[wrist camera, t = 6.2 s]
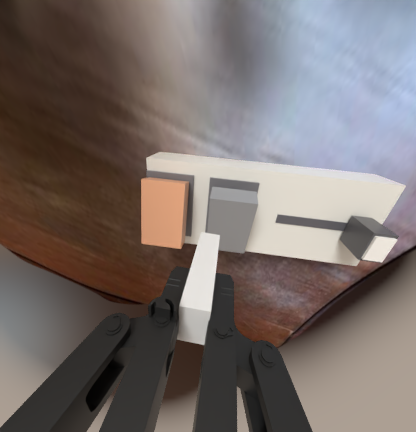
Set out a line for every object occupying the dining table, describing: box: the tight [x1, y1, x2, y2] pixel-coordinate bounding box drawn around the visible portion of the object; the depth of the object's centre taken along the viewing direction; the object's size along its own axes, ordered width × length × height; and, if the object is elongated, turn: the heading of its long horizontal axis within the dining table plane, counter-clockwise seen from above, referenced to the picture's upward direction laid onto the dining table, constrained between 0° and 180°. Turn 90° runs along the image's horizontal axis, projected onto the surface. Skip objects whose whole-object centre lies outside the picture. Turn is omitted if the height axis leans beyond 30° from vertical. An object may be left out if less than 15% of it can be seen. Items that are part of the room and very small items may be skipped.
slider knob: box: [339, 216, 399, 263], centre depth 21 cm, size 2×4×4 cm, turn 175°
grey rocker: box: [207, 187, 258, 254], centre depth 22 cm, size 5×8×2 cm, turn 175°
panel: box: [146, 152, 406, 266], centre depth 26 cm, size 30×12×5 cm, turn 85°
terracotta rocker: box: [141, 177, 189, 249], centre depth 23 cm, size 5×8×2 cm, turn 175°
